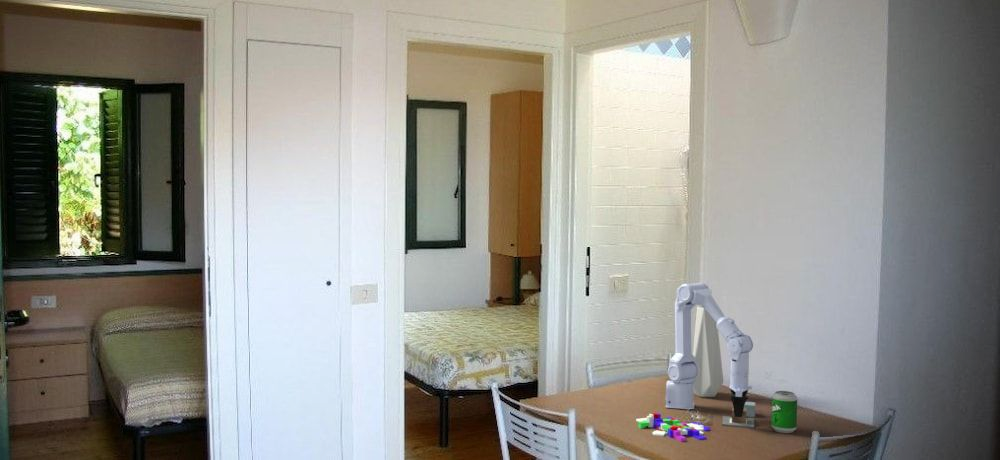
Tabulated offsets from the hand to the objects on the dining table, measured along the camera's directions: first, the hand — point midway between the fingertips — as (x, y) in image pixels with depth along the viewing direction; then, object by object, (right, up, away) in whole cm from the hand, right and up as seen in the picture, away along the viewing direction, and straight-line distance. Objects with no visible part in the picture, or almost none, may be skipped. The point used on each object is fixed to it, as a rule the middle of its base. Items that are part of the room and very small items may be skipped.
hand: (738, 413), depth 279 cm
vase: (-2, -1, +37) cm, 37 cm away
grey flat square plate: (0, -3, 0) cm, 3 cm away
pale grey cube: (+6, -3, +10) cm, 12 cm away
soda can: (+12, -4, -9) cm, 15 cm away
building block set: (-22, -4, -8) cm, 24 cm away
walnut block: (0, -3, 0) cm, 3 cm away
